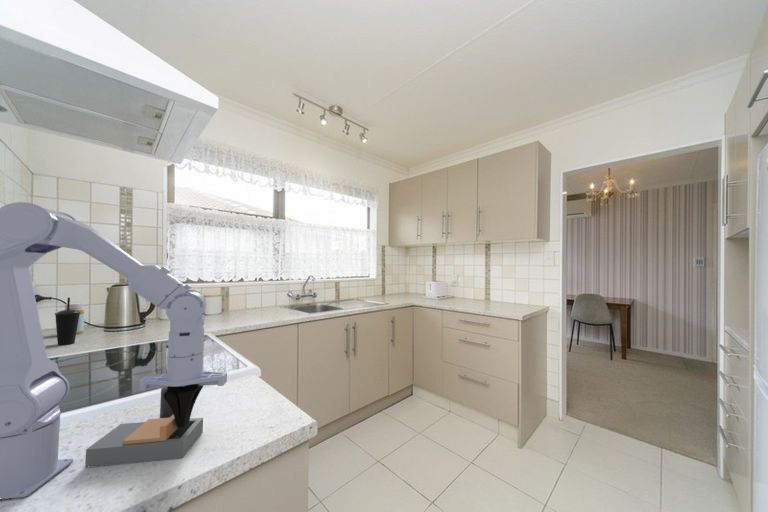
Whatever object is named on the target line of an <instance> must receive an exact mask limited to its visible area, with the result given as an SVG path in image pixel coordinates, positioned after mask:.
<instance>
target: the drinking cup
mask: <svg viewBox="0 0 768 512" xmlns="http://www.w3.org/2000/svg"><path fill="white" fill-rule="evenodd" d="M70 303H71V297H67V303H66V304H67V310H65V309H62V310H59V311H57V312H55V313H54V316H55V325H56V327H55V329H56V338H57V346H68V345H73V344H75V342H76V337H77V335H76V332H77V327H78V321H79V315H80V313H81V311H78V310H73V309H69V307H70Z"/></svg>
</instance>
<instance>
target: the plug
mask: <svg viewBox="0 0 768 512" xmlns="http://www.w3.org/2000/svg"><path fill="white" fill-rule="evenodd" d="M166 391H167V388H160V402H159V403H160V405H159V406H160V407H159V418H170V417H171V416H172V415H173V412H172V410H171V408H170V406H169V404H168V403H167V402H166V400H165V399H164V397H163V394H164V393H165V392H166Z"/></svg>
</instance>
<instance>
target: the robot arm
mask: <svg viewBox="0 0 768 512" xmlns="http://www.w3.org/2000/svg"><path fill="white" fill-rule="evenodd" d="M61 248H66V249H72V250H78V251H81V252H83V253H85V254H87V255H89V256H90V257H91V258H93V259H95V260H97V261H98V262H100V263H102V264H103V265H105V266H106V267H108V268H110V269H111V270H113V271H115V272H117V273H118V274H120V275H122V276H123V277H125V278H126V279H127V284H128V288H129V290H130V291H132V292H134V293H135V294H136V295H139V296H140V297H142V298H143V299H145V300H146V301H148V302H150V303H151V304H153V305H154V306H156V307H157V308H159V309H161V310H165V315H166V317H167V318H168V320H170V322H169V331H168V343H167V344H168V345H167V367H166V373H165V374H157V375H146V376H145V377H142V378H141V379H139V384H138V385H139V388H138V390H139V391H147V390H148V389H162V388H167V391H166V392H165V393H164V394H163V397H164V399H165V400H166V402H167V403H168V404H169V406H170V408H171V410H172V412H173V414H174V417H175V421H176V425H177V427H184V426H186V424H187V423H188V422H189V420H190V419H191V415H192V412H193V408H194V406H195V403H196V401H197V398H198V397H199V396H200V395H199V394H200V393H201V392H202V389H203V388H204V386H218V387H223V386H224V385H225V384H226V383H227V382H228V372H226V371H225V372H223V371H222V372H219V371H218V372H217V371H207V370H206V371H205V370H203V369H204V367H203V366H204V349H205V348H204V347H205V345H204V344H205V342H204V341H205V327H204V324H205V318H204V315H203V314H204V312H205V311H206V308H207V300H206V298H205V296H204V295H203V294H202V292H201V291H199V290H195V289H191V288H192V286H191V284H189V283H186V284H184V283H183V282H182V281H180V280H178V279H177V278H176V277H174V276H173V275H172V274H170V272H171V270H170V269H169V268H167V267H166V266H162V267H160V266H158V265H156V264H151V265H149V264H148V265H144V264H142V263H141V262H140V261H138V260H137V259H136V258H134V257H133V256H132V255H130V254H129V253H128V252H126V251H125V250H123V249H122V248H121V247H119V246H118V245H117V244H116V243H114V242H112V241H111V240H110V239H108V238H107V237H106V236H105V235H103V234H102V233H101V232H99V231H98V230H96V229H95V228H93V227H92V226H91V225H88V224H86V223H84V222H83V221H79V220H77V218H75V217H74V216H73V215H71V214H68V213H65V212H62V211H56V210H52V209H48V208H45V207H43V206H41V205H38V204H36V203H31V202H26V201H25V202H23V201H21V202H20V201H19V202H12V203H8V204H5V205H3V206H1V207H0V498H1V499H2V500H10V499H9V498H11V499H19V498H25V497H27V496H29V495H31V494H32V493H33V492H35V491H36V490H38V489H39V488H40V487H42V486H43V485H44V484H45V483H47V482H48V481H50V480H51V479H52V478H53V477H55V476H56V475H57V474H59V473H60V472H61V471H62V470H64V469H66V468H67V467H68V466H69V465H71V464H72V463H73V462H74V458H64V459H59V445H60V428H61V427H60V426H61V412H62V411H61V410H60V403H62V402H63V401H64V400H65V399H66V397H67V396H68V394H69V392H70V386H71V385H70V382H69V380H68V379H67V378H66V377H65V376H64V375H63V374H62V373H61V372H60V369H59V365H58V363H56V362H55V361H53V360H52V359H50V358H49V357H48V356H47V349H46V347H45V346H46V345H45V341H44V340H45V339H44V336H43V332H42V331H43V330H42V326H41V321H40V316H39V311H38V305H37V300H36V296H35V290H34V285H33V281H32V276H31V271H30V267H31V266H32V265H33V264H35V262H37V261H38V260H40V259H41V258H42V257H44V256H45V255H46V254H48V253H50V252H51V253H52V252H53V251H55V250H58V249H61ZM4 498H5V499H4Z"/></svg>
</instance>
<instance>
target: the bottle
mask: <svg viewBox="0 0 768 512" xmlns="http://www.w3.org/2000/svg"><path fill="white" fill-rule="evenodd" d="M69 309H73V310H78V311H81V313H80V315H79V321H78V327H77V332H76V334H77V335H80V333H81V334H82V333H84V326H85V324H84V323H85V311H84V302H70V307H69ZM64 310H67V303H65V305H64Z"/></svg>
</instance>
